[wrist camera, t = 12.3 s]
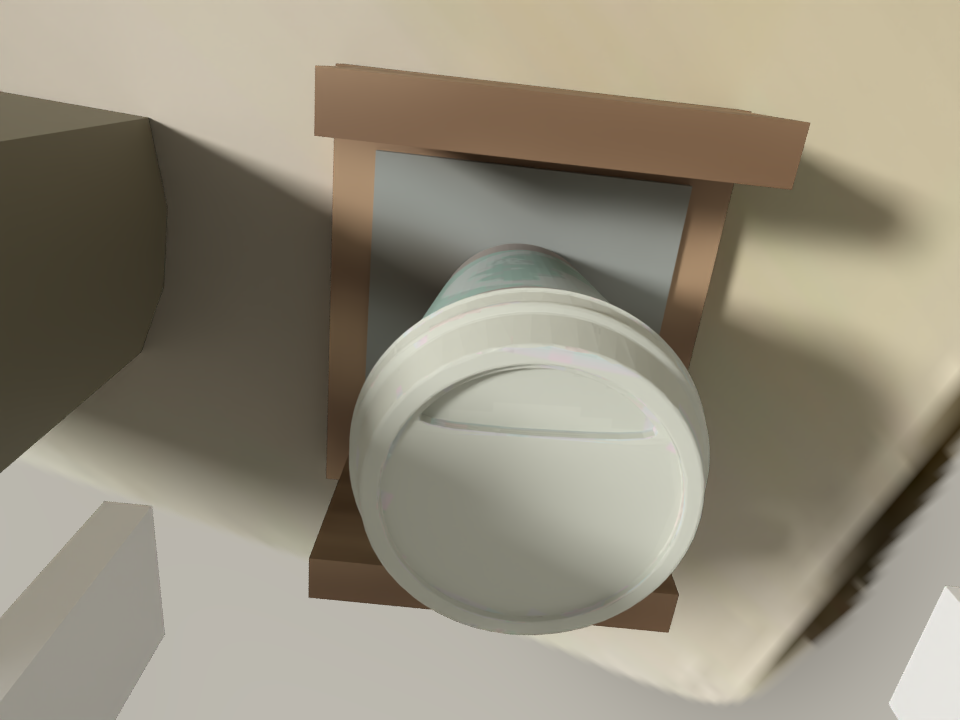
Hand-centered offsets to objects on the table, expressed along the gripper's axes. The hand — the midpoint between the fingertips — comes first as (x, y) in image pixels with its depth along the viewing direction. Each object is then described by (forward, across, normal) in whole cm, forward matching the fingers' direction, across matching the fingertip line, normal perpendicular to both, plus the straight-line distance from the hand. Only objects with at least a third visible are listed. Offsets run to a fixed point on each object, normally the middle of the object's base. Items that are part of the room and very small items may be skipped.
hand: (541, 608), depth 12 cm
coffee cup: (+16, 0, 0) cm, 16 cm away
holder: (+17, 0, 0) cm, 17 cm away
